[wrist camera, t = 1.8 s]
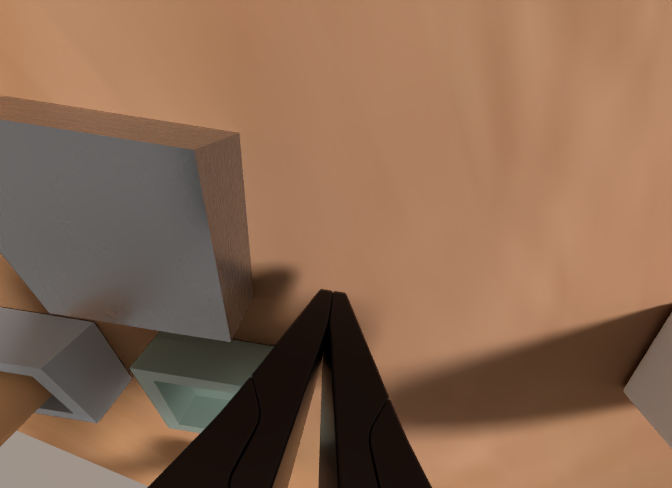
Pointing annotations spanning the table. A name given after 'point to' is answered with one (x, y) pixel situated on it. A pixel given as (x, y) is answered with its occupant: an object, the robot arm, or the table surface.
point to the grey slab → (125, 218)
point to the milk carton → (655, 383)
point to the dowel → (18, 401)
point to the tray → (194, 376)
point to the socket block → (63, 362)
